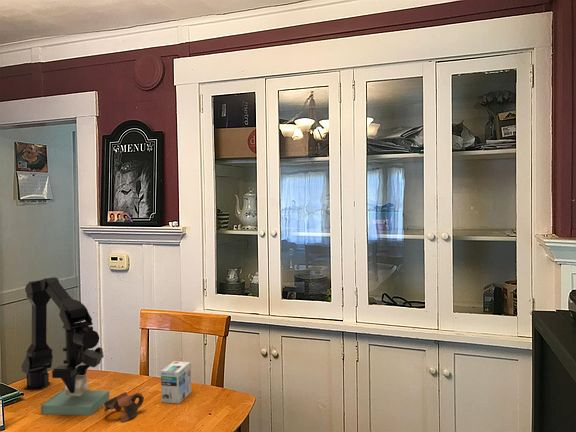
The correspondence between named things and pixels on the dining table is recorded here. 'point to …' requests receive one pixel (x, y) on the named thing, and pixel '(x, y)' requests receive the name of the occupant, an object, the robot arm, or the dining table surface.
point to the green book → (75, 403)
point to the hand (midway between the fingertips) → (76, 389)
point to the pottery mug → (125, 405)
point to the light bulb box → (176, 382)
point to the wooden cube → (78, 386)
